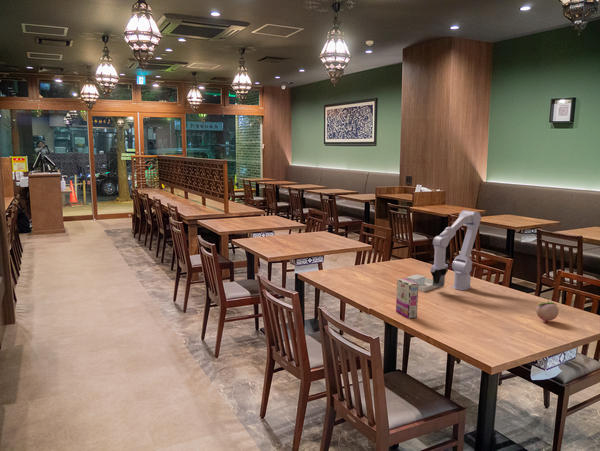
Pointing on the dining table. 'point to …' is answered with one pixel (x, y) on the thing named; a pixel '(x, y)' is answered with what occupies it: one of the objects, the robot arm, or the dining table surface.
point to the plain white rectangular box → (417, 279)
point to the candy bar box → (407, 298)
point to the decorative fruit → (547, 311)
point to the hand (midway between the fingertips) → (438, 282)
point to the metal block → (440, 281)
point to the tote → (427, 285)
